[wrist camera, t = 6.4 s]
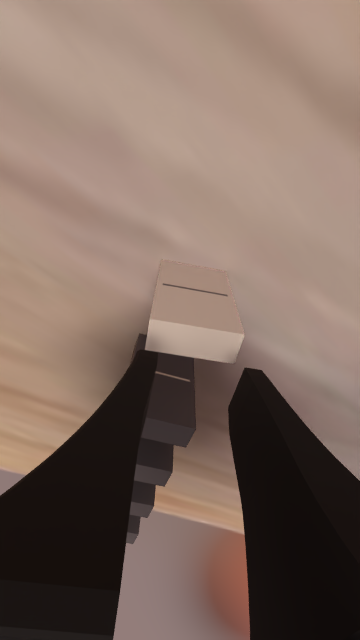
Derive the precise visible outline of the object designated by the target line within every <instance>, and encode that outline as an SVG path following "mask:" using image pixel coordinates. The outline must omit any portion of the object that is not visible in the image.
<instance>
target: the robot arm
mask: <svg viewBox="0 0 360 640" xmlns="http://www.w3.org/2000/svg"><path fill="white" fill-rule="evenodd" d="M157 361H158V352H153V351H147V350H142V349H140V350H139V351H137V352H136V355H135V357H134V359H133V361H132V363H131V365H130V367H129V368H128V370H127V371H126V373H125V374H124V376H123V377H122V379H121V380H120V381H119V383H118V384H117V386H116V387H115V388H114V390H113V391H112V392H111V394H110V395H109V396H108V397H107V398H106V400H105V401H104V402H103V403H102V404H101V406H100V407H99V408H98V409H97V410H96V411H95V413H94V414H93V415H92V416H91V417H90V418H89V419H88V420H87V421H86V422H85V423H84V424H83V425H82V426H81V427H80V428H79V429H78V430H77V431H76V432H75V433H74V434H73V435H72V436H71V437H70V438H69V439H68V440H67V441H66V442H65V443H64V444H63V445H62V446H60V447H59V448H58V449H57V450H56V451H55V452H54V453H53V454H52V455H50V456H49V457H48V458H47V459H46V460H45V461H44V462H42V463H41V464H40V465H39V466H37V467H36V468H35V469H34V470H32V471H31V472H30V473H29V474H27V475H26V476H25V477H24V478H22V479H21V480H20V481H19V482H18V483H16V484H15V485H14V486H12V487H11V488H10V489H9V490H7V491H6V492H5V493H3V494H2V495H1V496H0V640H113V636H114V629H115V622H116V615H117V608H118V601H119V595H120V587H121V578H122V570H123V562H124V554H125V546H126V538H127V531H128V523H129V515H130V507H131V499H132V492H133V484H134V477H135V469H136V462H137V455H138V448H139V444H140V440H141V436H142V432H143V428H144V424H145V419H146V415H147V410H148V405H149V401H150V396H151V391H152V387H153V382H154V378H155V373H156V368H157ZM228 413H229V433H230V440H231V446H232V452H233V458H234V464H235V469H236V475H237V480H238V486H239V492H240V497H241V504H242V511H243V520H244V532H245V544H246V559H247V573H248V589H249V590H248V593H249V616H250V640H360V481H359V480H358V479H357V478H356V477H355V476H354V475H353V474H352V473H351V472H350V471H349V470H348V469H347V468H346V467H345V466H344V465H343V464H342V463H341V462H340V461H339V460H338V459H336V458H335V457H334V455H333V454H332V453H331V452H330V451H329V450H328V449H327V448H326V447H325V446H324V445H323V444H322V443H321V442H320V441H319V439H318V438H317V437H316V436H315V435H314V434H313V433H312V432H311V431H310V429H309V428H308V427H307V426H306V425H305V424H304V422H303V421H302V420H301V419H300V418H299V416H298V415H297V414H296V413H295V412H294V410H293V409H292V408H291V407H290V405H289V404H288V403H287V402H286V400H285V399H284V398H283V397H282V395H281V394H280V393H279V392H278V390H277V389H276V388H275V386H274V385H273V384H272V383H271V381H270V380H269V379H268V377H267V376H266V375H265V374H264V373H263V371H262V370H257V369H251V368H244V371H243V373H242V376H241V378H240V381H239V383H238V385H237V388H236V390H235V393H234V395H233V397H232V400H231V402H230V405H229V407H228Z"/></svg>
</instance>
